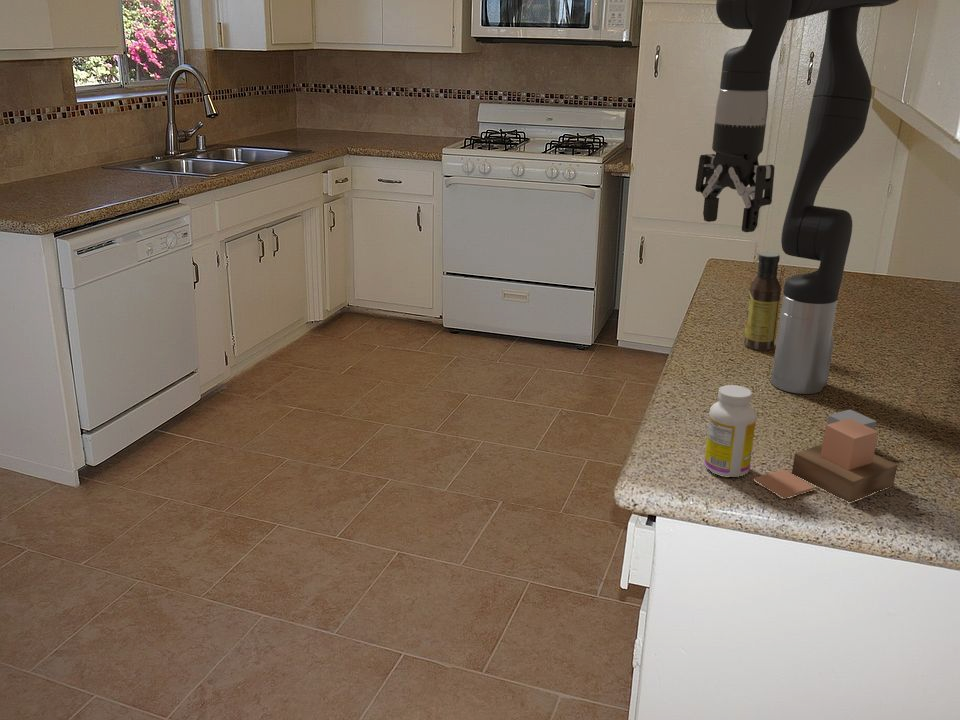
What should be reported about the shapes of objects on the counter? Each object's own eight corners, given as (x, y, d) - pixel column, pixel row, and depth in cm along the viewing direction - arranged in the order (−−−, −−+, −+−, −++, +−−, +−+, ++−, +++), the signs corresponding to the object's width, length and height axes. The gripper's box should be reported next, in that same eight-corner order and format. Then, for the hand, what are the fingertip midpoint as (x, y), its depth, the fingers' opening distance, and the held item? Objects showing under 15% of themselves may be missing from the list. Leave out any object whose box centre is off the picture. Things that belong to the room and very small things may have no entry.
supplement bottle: (741, 458, 135) (751, 382, 130) (755, 479, 129) (766, 399, 124) (698, 459, 135) (706, 382, 130) (710, 480, 128) (719, 400, 124)
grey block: (845, 437, 142) (850, 409, 141) (870, 449, 138) (876, 421, 137) (823, 443, 140) (828, 415, 138) (848, 456, 136) (854, 427, 134)
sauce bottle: (754, 339, 186) (766, 248, 179) (780, 347, 182) (793, 254, 175) (736, 345, 183) (748, 252, 175) (762, 353, 178) (775, 258, 171)
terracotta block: (844, 448, 130) (849, 418, 128) (872, 462, 126) (878, 431, 124) (820, 455, 128) (825, 424, 126) (848, 470, 124) (854, 438, 122)
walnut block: (834, 461, 135) (838, 438, 134) (892, 489, 127) (897, 464, 126) (791, 477, 130) (794, 453, 129) (848, 507, 122) (853, 481, 121)
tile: (783, 472, 131) (783, 469, 130) (814, 490, 126) (815, 486, 125) (753, 481, 128) (753, 477, 128) (784, 500, 123) (784, 496, 123)
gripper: (794, 124, 128) (779, 233, 134) (726, 115, 140) (715, 215, 146) (756, 126, 125) (743, 238, 131) (689, 117, 136) (680, 219, 142)
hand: (728, 226), depth 138 cm, fingers open, 8 cm apart
